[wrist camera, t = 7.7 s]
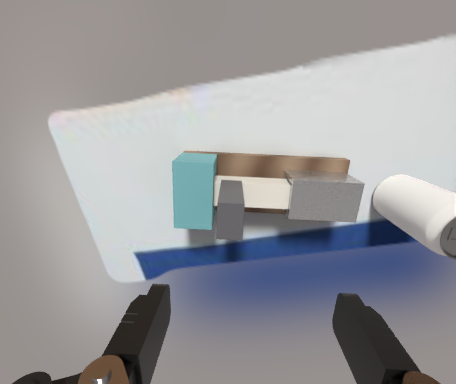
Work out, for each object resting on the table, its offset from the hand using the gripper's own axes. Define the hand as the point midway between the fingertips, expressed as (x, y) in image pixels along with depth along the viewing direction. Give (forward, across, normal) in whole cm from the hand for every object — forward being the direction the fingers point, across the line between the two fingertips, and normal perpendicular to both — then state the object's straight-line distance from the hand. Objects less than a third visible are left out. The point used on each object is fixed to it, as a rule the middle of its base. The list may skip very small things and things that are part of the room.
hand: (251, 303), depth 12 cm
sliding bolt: (+21, -1, +1) cm, 21 cm away
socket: (+23, +6, +1) cm, 23 cm away
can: (+25, -22, +2) cm, 33 cm away
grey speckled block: (+23, -10, +1) cm, 25 cm away
